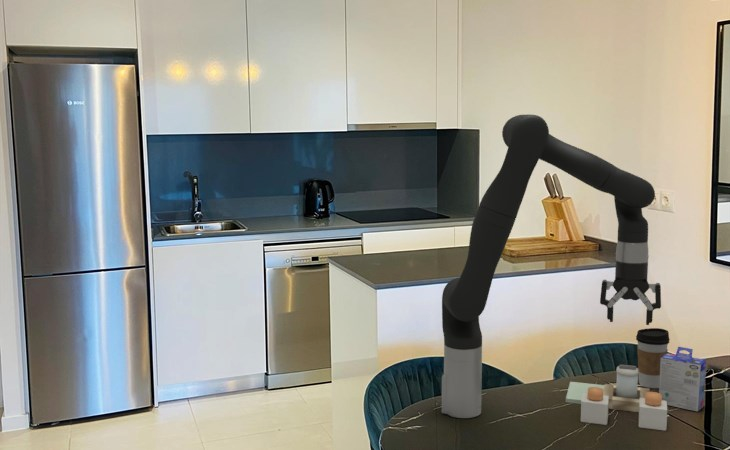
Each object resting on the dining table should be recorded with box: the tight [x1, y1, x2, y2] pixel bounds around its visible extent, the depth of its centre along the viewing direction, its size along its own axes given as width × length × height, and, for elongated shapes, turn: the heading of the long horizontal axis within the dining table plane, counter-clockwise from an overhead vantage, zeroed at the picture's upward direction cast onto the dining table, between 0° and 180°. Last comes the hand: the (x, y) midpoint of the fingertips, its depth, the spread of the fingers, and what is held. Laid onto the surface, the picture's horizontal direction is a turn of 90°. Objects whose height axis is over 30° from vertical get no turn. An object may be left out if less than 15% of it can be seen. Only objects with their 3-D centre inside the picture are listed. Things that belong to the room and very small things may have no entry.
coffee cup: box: [635, 327, 671, 389], centre depth 199 cm, size 8×8×15 cm
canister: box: [615, 363, 639, 399], centre depth 187 cm, size 5×5×10 cm
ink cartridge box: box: [658, 346, 707, 412], centre depth 185 cm, size 10×6×14 cm, turn 53°
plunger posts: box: [580, 393, 668, 431], centre depth 176 cm, size 19×7×5 cm, turn 70°
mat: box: [565, 381, 605, 405], centre depth 193 cm, size 9×13×1 cm
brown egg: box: [645, 391, 662, 406], centre depth 174 cm, size 4×4×6 cm
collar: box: [603, 383, 651, 413], centre depth 187 cm, size 11×11×2 cm
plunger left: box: [587, 387, 603, 400], centre depth 177 cm, size 4×4×6 cm
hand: (629, 322), depth 184 cm, fingers open, 8 cm apart
